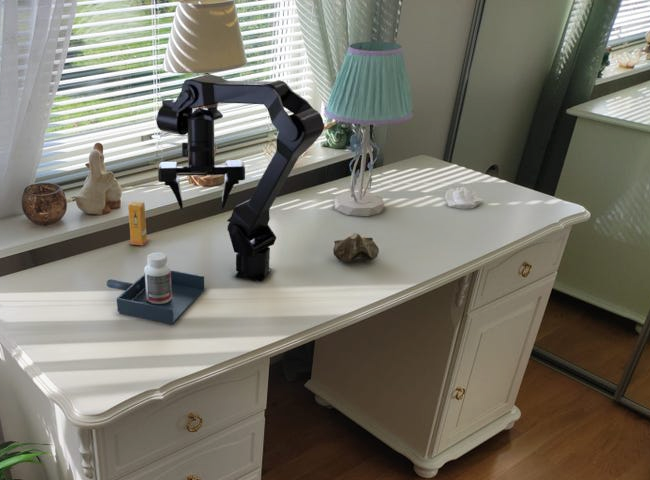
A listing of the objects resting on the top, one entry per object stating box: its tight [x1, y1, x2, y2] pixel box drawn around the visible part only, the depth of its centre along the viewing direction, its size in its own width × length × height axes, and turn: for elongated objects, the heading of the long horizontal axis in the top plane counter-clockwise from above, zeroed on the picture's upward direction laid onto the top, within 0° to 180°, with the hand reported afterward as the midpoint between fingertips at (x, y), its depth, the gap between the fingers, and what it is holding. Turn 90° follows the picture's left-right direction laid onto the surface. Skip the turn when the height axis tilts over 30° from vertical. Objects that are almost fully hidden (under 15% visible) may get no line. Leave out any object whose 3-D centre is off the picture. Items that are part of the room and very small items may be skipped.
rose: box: [444, 186, 484, 210], centre depth 191 cm, size 10×4×10 cm
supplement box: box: [127, 201, 148, 247], centre depth 173 cm, size 3×3×10 cm
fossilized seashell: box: [332, 232, 380, 263], centre depth 163 cm, size 8×7×10 cm
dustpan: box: [106, 269, 205, 326], centre depth 150 cm, size 19×16×3 cm
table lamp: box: [324, 41, 415, 217], centre depth 180 cm, size 22×22×40 cm
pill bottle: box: [143, 251, 172, 304], centre depth 147 cm, size 5×5×10 cm
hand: (202, 208), depth 161 cm, fingers open, 9 cm apart
